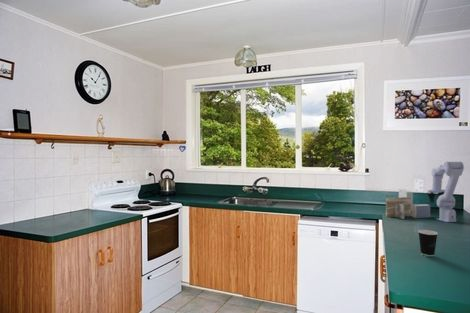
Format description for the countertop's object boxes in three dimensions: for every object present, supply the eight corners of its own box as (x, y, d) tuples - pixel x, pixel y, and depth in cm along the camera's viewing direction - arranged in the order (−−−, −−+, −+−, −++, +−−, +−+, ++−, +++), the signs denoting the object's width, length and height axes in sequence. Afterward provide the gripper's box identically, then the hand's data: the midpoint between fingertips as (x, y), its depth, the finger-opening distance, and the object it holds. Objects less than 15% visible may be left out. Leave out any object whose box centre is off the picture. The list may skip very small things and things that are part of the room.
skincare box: (413, 211, 253) (413, 192, 253) (406, 211, 254) (406, 191, 254) (404, 207, 274) (404, 189, 274) (397, 206, 275) (398, 188, 275)
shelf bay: (418, 218, 226) (418, 199, 226) (394, 219, 222) (394, 199, 222) (409, 215, 235) (409, 197, 235) (385, 216, 232) (385, 197, 231)
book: (430, 217, 229) (430, 205, 229) (416, 218, 227) (416, 205, 227) (425, 216, 234) (425, 204, 234) (411, 216, 231) (411, 204, 231)
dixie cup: (419, 251, 149) (420, 228, 149) (439, 255, 143) (439, 231, 143) (415, 255, 143) (415, 231, 143) (435, 259, 138) (436, 235, 137)
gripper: (440, 183, 238) (440, 200, 239) (424, 184, 235) (423, 201, 236) (448, 184, 231) (447, 202, 232) (432, 185, 228) (431, 203, 229)
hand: (436, 202), depth 234 cm, fingers open, 7 cm apart
